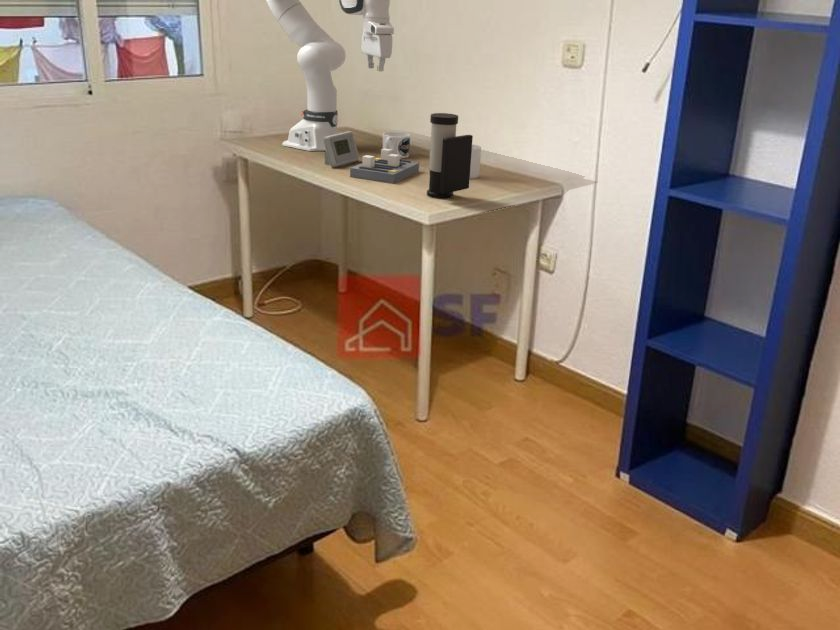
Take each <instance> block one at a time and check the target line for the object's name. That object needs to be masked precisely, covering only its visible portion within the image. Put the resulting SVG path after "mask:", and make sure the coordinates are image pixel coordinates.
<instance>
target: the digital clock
mask: <svg viewBox="0 0 840 630" xmlns="http://www.w3.org/2000/svg"><path fill="white" fill-rule="evenodd" d="M323 141H324V145H325V148H326V150H325V151H324V165H327V166H330V167H332V168H341V167H344V166H348V165H350V164H354V163H355V162H358V161H359V160H360V155H359V151H358V148H357V144H356V141H355V138H354V133H353V132H352V131H350V130H347V131H342V132H337V134H332V135H330V136H326V137H324V139H323Z"/></svg>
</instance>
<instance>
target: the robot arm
mask: <svg viewBox="0 0 840 630" xmlns="http://www.w3.org/2000/svg"><path fill="white" fill-rule="evenodd" d="M265 2H266V4H267V5H268V8H269V9H270V12H271V13H272V15H273V16H274V19H276V21H277V22H278V24H279V25H280V27H281V28H282V29H283V31H284V32H285V34H286V35H287V36H288V38H289V39H290V41H292V42H293V43H295V45H296V44H297V45H298V46H299V47H300V48H299V51H297V54H296V55H297V56H296V61H297V65H298V67H299V68H300V69H301V70H302V73H303V77H304V81H305V86H306V94H307V95H306V100H307V101H306V103H307V104H306V105H307V106H306V108H307V109H305V110H303V111H301V114H300V115H301V116H303V118H302V119H301V120H300V121H298V122H297V123H296V124H295V125H294V126H292V127H291V128H290V129H289V132H288V139H287V140H284V141H283V142H282V146H283V147H288V148H289V147H290V148H292V149H293V148H294V149H297V150H298V149H299V150H304V151H309V152H315V151H316V152H317V151H319V152H320V151H326V148H325V145H324V141H323V139H324V137H326V136H330V135H332V134H337V133H338V121H339V120H338V119H339V118H338V117H339V116H338V113H339V112H338V109H337V103H338V102H337V101H338V100H337V96H338V95H337V92H338V91H337V88H336V86H335V85H334V82H333V78H332V71H333V72H334V71H335V70H338V69H339V68H340V67H342V66H343V65H344V62H345V61H346V50H345V49H344V47H343V45H341V44H340V43H338V42H337V41H335V40H334V39H333V37H331V36H330V35H329V34H328V33H327V32H326V31H325V30H324V29H323V28H322V27H321V26H320V25H319V24H318V23H317V22H316V21H315V20H314V18H313V17H312V16H311V15H310V13H309V11H308V10H307V9H306V8H305V6H304V5H303V3H302V2H301V1H300V0H266V1H265ZM338 2H339V6H340V9H341V11H342V12H344V13H345V14H348V15H351V16H362V34H361V35H362V36H361V44H360V45H361V47H360V49H361V53H362V54H365V55H366V56H365V58H366V62H367V68H368V69H374V67H375V62H374V57H376V58H377V60H378V64H377V67H376V69H377V70H376V71H378V72H384V71H385V68H384V67H385V63H386V59H390V58H391V57H392V53H393V35H394V34H395V33H394V32H395V30H394V28H395V27H394V26H393V25H392V23H391V22H390V12H389V11H390V10H389V9H390V5H391V4H390V3H391V0H338Z"/></svg>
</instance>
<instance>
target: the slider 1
mask: <svg viewBox="0 0 840 630" xmlns="http://www.w3.org/2000/svg"><path fill="white" fill-rule="evenodd" d="M375 158H376V156H374V155H369V154H365V155H363V156H362V158H361V159H362V163H361V164H362V167H368V168H372V167H374V162H375Z"/></svg>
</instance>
